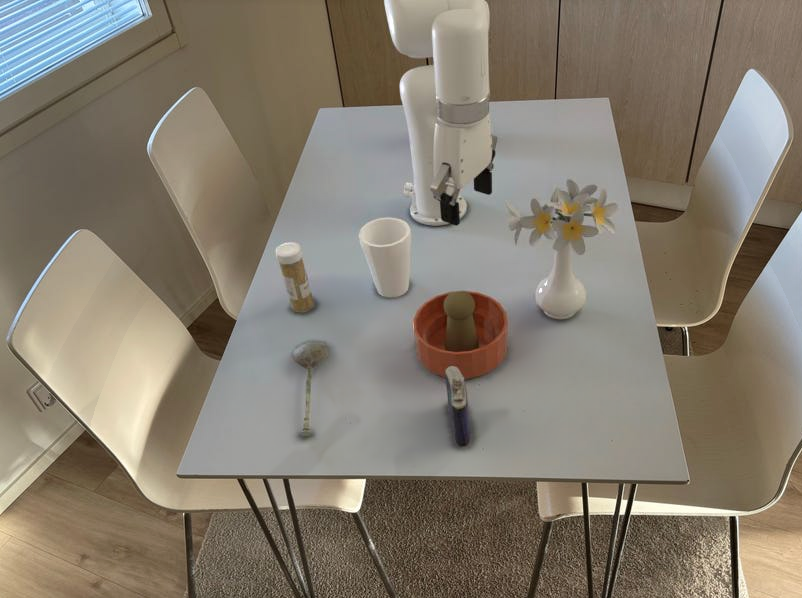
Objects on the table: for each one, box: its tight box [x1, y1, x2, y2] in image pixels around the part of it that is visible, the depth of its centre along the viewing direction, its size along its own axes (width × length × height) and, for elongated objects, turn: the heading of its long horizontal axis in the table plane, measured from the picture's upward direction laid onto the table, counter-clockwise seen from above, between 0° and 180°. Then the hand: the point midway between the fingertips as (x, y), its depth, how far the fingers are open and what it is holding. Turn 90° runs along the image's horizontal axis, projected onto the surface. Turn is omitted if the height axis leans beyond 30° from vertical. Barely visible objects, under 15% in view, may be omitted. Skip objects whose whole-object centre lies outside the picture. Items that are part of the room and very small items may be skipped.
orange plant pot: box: [412, 290, 509, 379], centre depth 120 cm, size 16×16×6 cm
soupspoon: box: [291, 341, 330, 437], centre depth 117 cm, size 22×3×7 cm
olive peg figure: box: [444, 290, 479, 352], centre depth 118 cm, size 6×6×11 cm
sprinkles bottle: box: [275, 241, 315, 314], centre depth 129 cm, size 5×5×14 cm
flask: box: [444, 366, 472, 448], centre depth 106 cm, size 9×3×11 cm, turn 8°
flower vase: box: [505, 178, 619, 320], centre depth 119 cm, size 13×18×25 cm
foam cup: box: [358, 216, 412, 299], centre depth 131 cm, size 10×9×13 cm
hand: (467, 206), depth 112 cm, fingers open, 9 cm apart
